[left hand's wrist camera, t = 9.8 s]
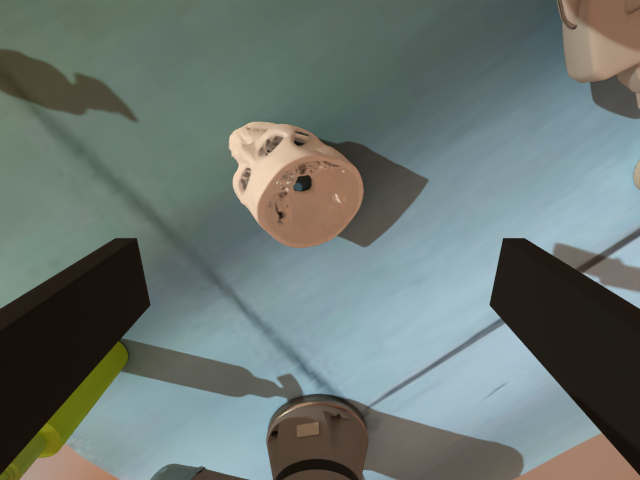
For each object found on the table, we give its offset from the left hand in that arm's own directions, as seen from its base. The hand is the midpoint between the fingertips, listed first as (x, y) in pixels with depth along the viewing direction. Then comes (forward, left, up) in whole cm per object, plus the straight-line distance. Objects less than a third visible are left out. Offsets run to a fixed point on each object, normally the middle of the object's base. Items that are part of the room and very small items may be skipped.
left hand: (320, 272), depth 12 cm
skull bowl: (0, +3, -28) cm, 28 cm away
